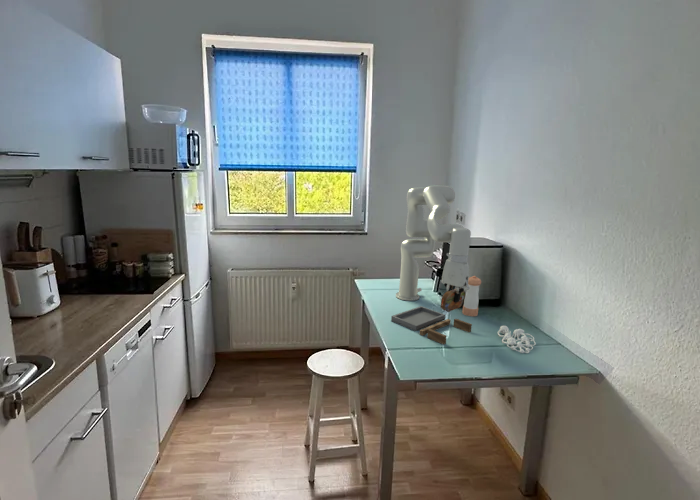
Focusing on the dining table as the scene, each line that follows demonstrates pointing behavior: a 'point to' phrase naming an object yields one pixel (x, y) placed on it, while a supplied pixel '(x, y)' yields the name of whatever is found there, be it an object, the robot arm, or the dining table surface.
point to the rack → (441, 337)
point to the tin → (451, 300)
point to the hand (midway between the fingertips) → (452, 300)
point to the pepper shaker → (472, 297)
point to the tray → (418, 318)
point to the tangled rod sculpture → (512, 341)
